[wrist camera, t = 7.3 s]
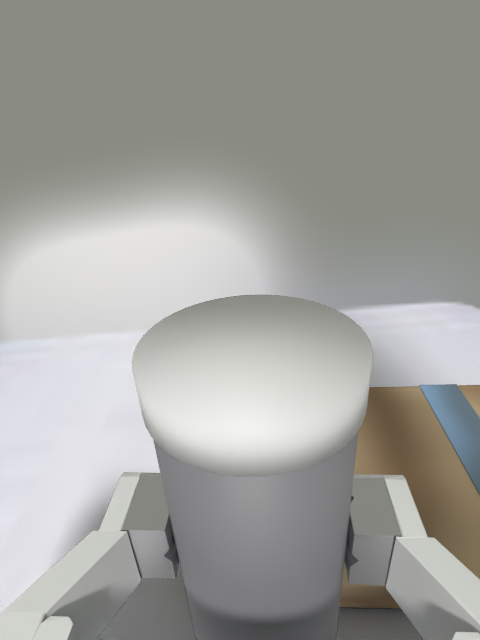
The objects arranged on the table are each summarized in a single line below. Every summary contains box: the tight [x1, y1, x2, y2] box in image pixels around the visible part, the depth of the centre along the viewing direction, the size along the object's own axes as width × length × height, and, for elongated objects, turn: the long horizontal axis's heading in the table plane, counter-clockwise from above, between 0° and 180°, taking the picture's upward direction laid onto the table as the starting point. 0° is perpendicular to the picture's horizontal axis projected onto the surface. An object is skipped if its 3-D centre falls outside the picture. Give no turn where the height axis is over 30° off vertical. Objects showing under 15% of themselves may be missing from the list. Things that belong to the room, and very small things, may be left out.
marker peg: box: [132, 295, 373, 640], centre depth 10 cm, size 4×4×11 cm
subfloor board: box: [340, 384, 480, 608], centre depth 22 cm, size 20×13×2 cm, turn 87°
